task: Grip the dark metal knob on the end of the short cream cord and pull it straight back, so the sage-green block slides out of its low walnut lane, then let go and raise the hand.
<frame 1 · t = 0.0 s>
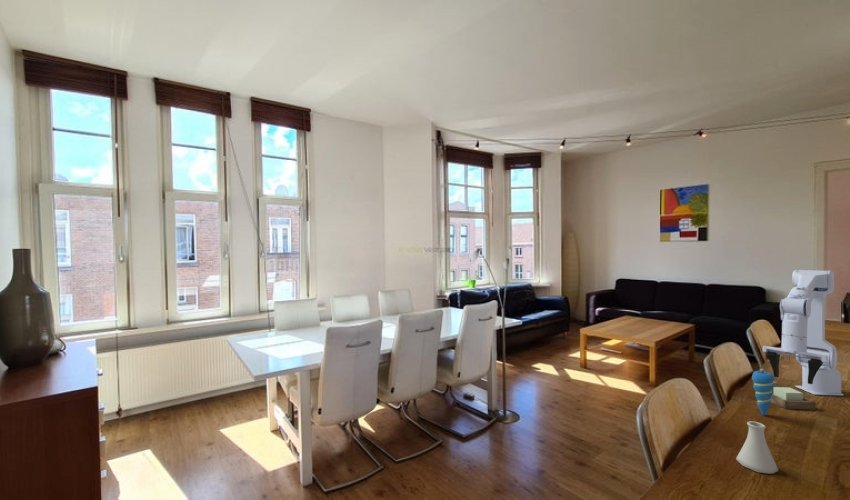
hand: (792, 380, 117), 11 cm above the table, tool pointing down, fingers open, 7 cm apart
flask: (756, 466, 90), on the table
sage block: (788, 403, 125), on the table
walnut lane: (788, 403, 125), on the table
ornament: (763, 415, 116), on the table
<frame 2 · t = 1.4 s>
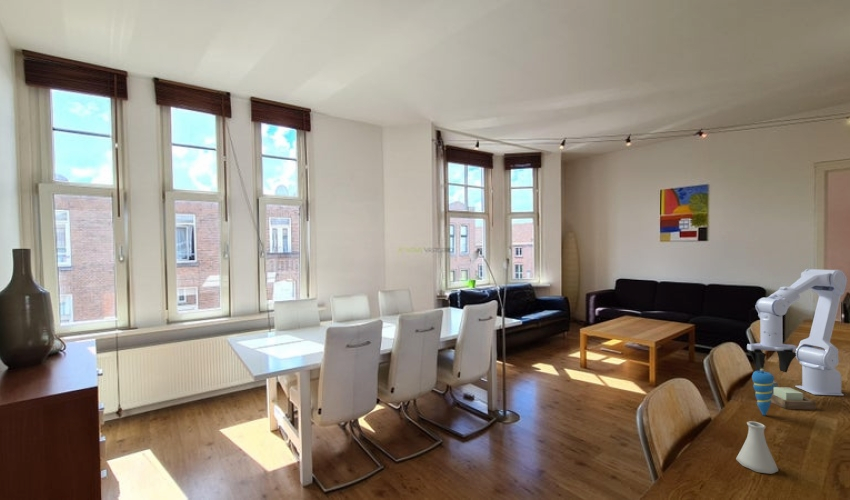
hand: (771, 371, 131), 9 cm above the table, tool pointing down, fingers open, 7 cm apart
nothing on the table moved.
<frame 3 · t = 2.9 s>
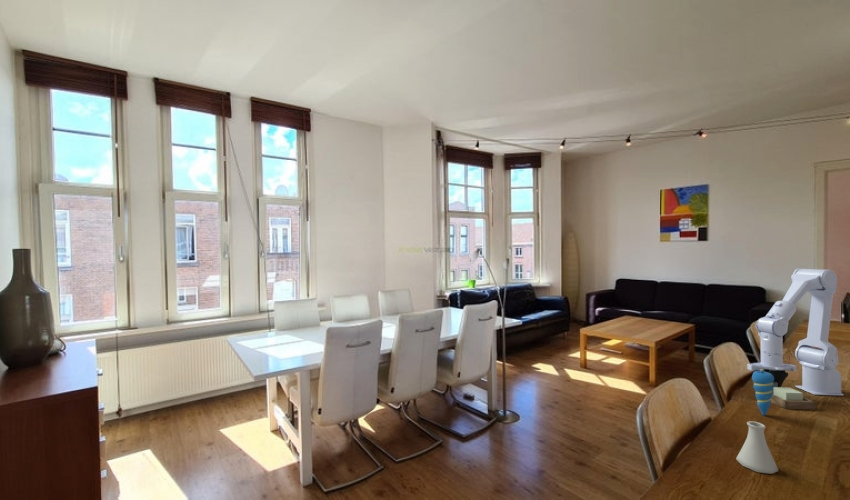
hand: (771, 391, 131), 2 cm above the table, tool pointing down, fingers closed on sage block
sage block: (788, 403, 125), on the table, touching gripper
everything else where it was.
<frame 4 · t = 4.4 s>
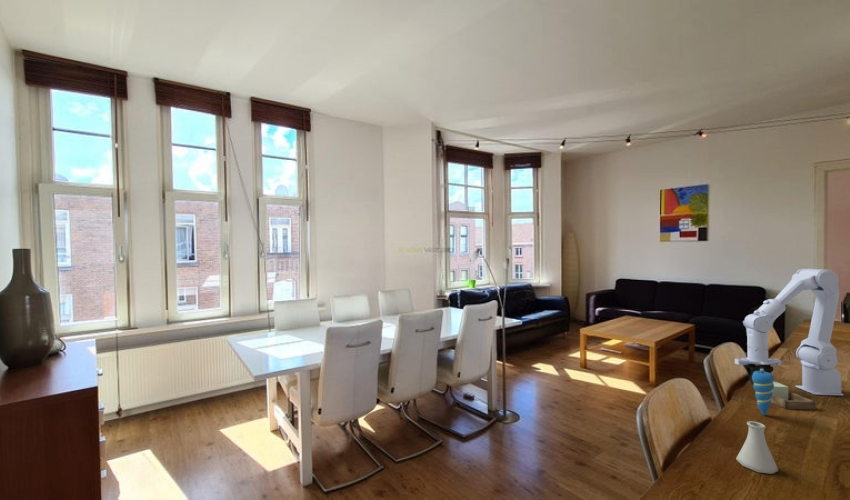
hand: (757, 384, 138), 2 cm above the table, tool pointing down, fingers closed on sage block
sage block: (774, 396, 131), on the table, touching gripper
everything else where it was.
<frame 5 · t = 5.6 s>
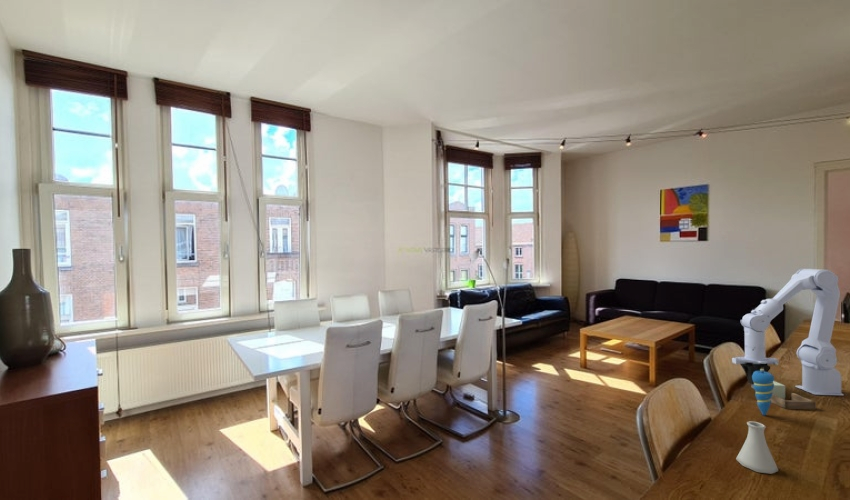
hand: (755, 383, 139), 2 cm above the table, tool pointing down, fingers closed on sage block
sage block: (771, 395, 132), on the table, touching gripper
everything else where it was.
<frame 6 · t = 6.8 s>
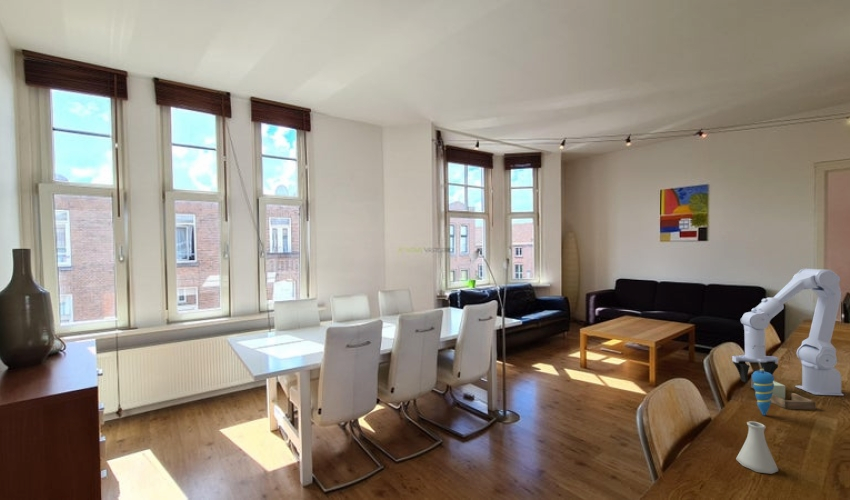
hand: (755, 381, 139), 2 cm above the table, tool pointing down, fingers open, 7 cm apart
sage block: (771, 395, 132), on the table
everything else where it was.
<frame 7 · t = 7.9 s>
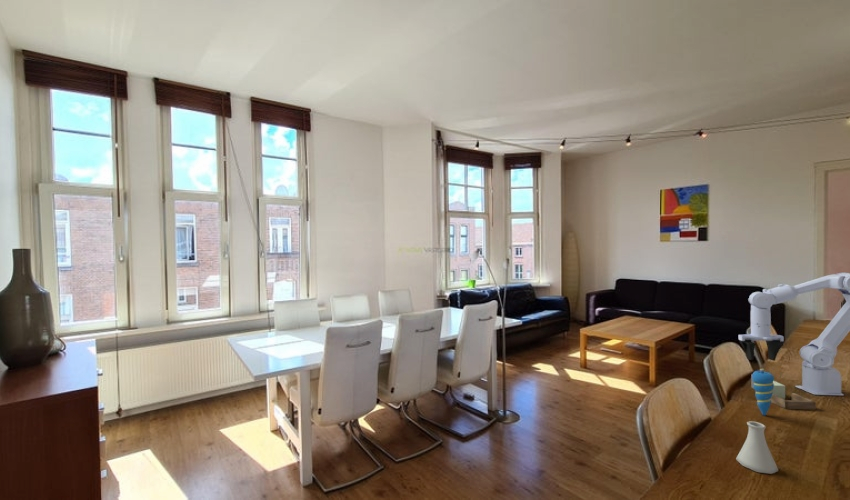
hand: (760, 359, 142), 9 cm above the table, tool pointing down, fingers open, 7 cm apart
nothing on the table moved.
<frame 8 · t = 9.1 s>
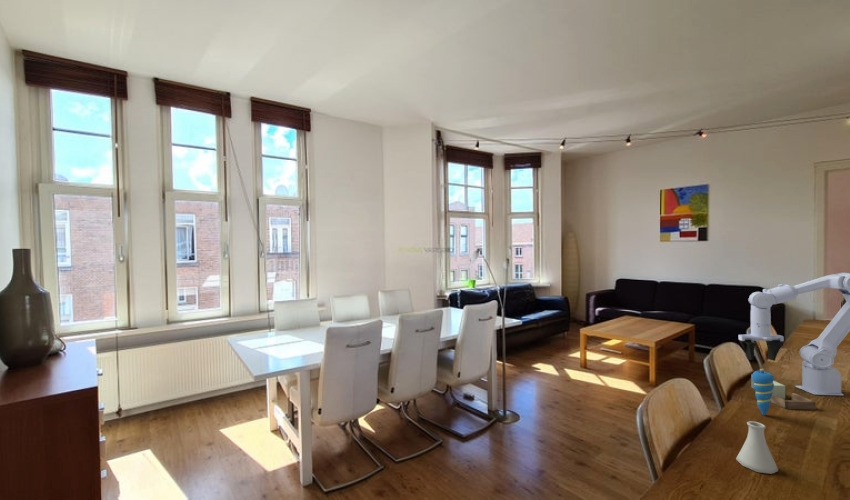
hand: (760, 359, 142), 9 cm above the table, tool pointing down, fingers open, 7 cm apart
nothing on the table moved.
at the end: sage block 0.5 cm from the target spot, on the table; sage block tilted 0°; the gripper is holding nothing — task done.
